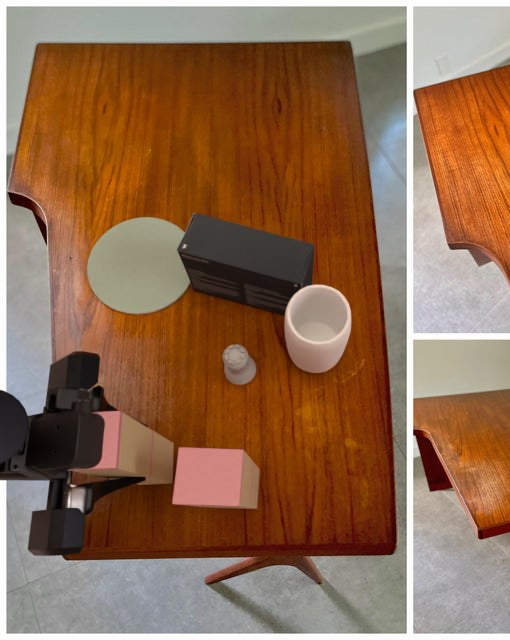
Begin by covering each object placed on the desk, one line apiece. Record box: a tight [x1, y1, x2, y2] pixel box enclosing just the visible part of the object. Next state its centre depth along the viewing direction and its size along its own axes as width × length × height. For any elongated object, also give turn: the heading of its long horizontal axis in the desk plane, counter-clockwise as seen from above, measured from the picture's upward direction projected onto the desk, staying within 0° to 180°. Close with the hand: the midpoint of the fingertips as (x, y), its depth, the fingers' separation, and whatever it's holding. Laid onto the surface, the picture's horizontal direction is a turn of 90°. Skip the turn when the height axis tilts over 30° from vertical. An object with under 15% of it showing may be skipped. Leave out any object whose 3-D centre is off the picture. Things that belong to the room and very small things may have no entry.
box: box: [177, 212, 316, 316], centre depth 74 cm, size 17×7×12 cm, turn 74°
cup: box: [283, 284, 352, 374], centre depth 70 cm, size 8×8×14 cm
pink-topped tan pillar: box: [70, 410, 175, 486], centre depth 57 cm, size 4×5×22 cm
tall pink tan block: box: [171, 446, 261, 510], centre depth 59 cm, size 6×5×22 cm
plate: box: [86, 216, 192, 316], centre depth 80 cm, size 16×16×1 cm
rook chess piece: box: [222, 343, 257, 386], centre depth 71 cm, size 4×4×8 cm
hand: (145, 453), depth 58 cm, fingers closed on pink-topped tan pillar, 5 cm apart
